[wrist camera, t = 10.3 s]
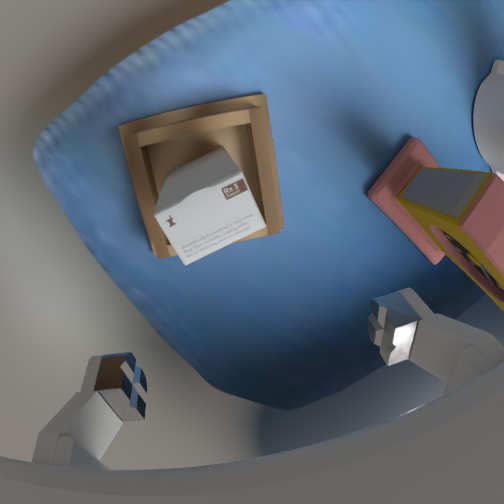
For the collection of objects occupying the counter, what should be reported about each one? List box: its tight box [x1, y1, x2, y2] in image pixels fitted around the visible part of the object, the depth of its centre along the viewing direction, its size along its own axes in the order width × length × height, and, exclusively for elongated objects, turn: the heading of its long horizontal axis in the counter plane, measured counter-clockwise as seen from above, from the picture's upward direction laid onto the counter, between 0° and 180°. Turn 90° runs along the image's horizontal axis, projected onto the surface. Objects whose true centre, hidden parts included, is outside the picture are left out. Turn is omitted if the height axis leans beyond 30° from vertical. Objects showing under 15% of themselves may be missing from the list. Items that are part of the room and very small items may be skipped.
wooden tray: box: [118, 94, 284, 259], centre depth 29 cm, size 14×14×4 cm
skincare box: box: [153, 147, 266, 265], centre depth 24 cm, size 6×4×12 cm
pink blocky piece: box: [367, 138, 504, 311], centre depth 27 cm, size 22×9×22 cm, turn 53°
